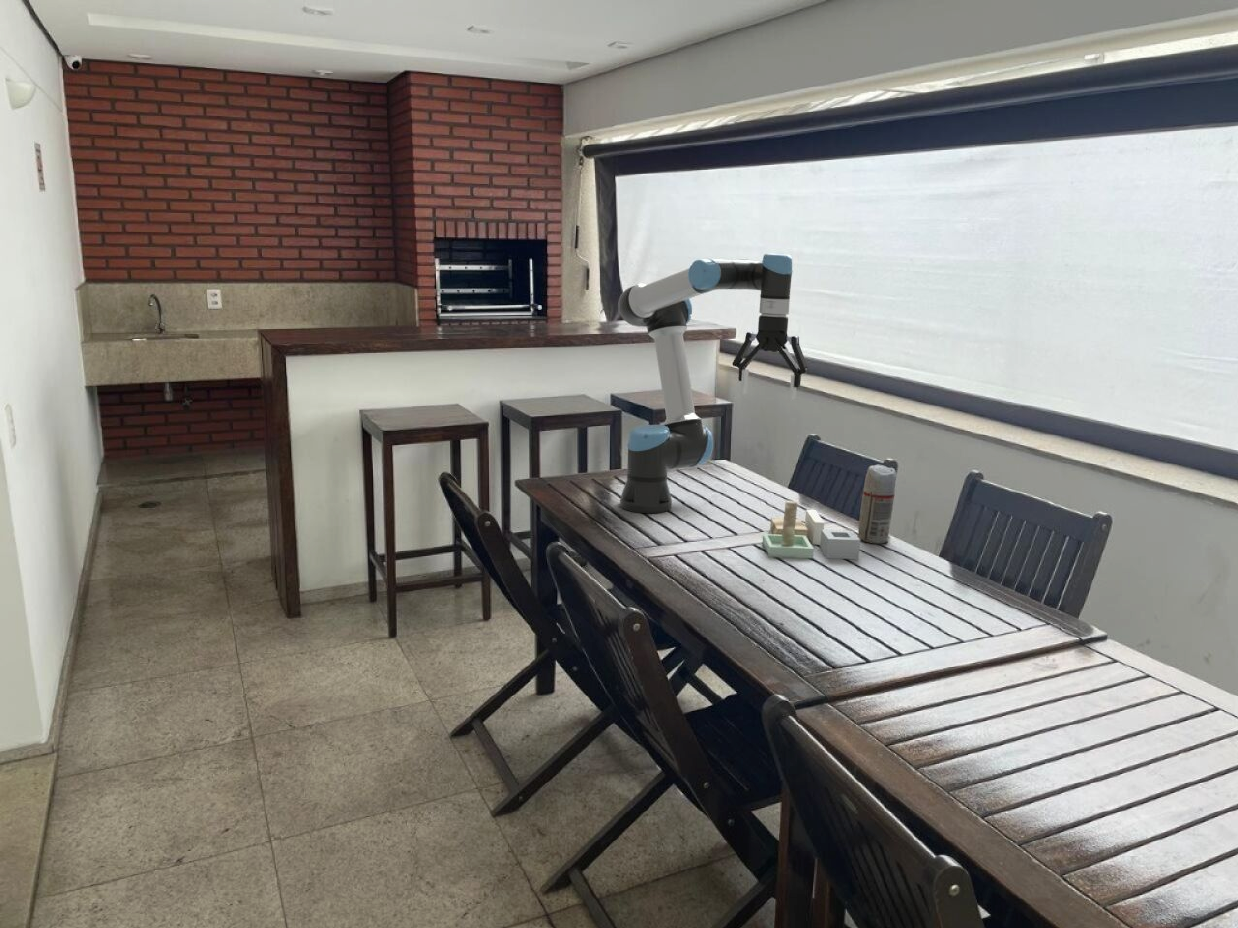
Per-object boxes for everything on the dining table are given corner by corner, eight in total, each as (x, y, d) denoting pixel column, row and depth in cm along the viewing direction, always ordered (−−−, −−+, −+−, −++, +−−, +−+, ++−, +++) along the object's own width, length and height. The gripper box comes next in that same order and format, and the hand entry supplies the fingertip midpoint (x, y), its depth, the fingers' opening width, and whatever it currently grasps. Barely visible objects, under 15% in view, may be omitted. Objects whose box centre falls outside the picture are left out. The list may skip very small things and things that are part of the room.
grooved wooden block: (769, 532, 262) (770, 518, 262) (799, 533, 263) (800, 518, 262) (776, 543, 253) (777, 528, 252) (806, 544, 253) (807, 529, 252)
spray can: (886, 536, 262) (894, 464, 257) (891, 545, 254) (899, 471, 249) (854, 534, 262) (861, 462, 258) (859, 543, 254) (866, 469, 250)
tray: (762, 543, 251) (763, 533, 251) (804, 544, 251) (805, 535, 251) (768, 556, 241) (769, 547, 240) (812, 558, 241) (813, 548, 240)
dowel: (779, 548, 245) (783, 502, 243) (783, 545, 248) (787, 500, 245) (790, 550, 244) (795, 504, 241) (794, 547, 246) (799, 502, 244)
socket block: (820, 548, 249) (821, 529, 248) (851, 549, 249) (852, 530, 248) (826, 558, 241) (828, 538, 240) (858, 559, 241) (860, 540, 240)
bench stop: (804, 530, 264) (806, 509, 262) (813, 531, 264) (815, 509, 262) (812, 544, 252) (814, 522, 251) (822, 544, 252) (824, 522, 251)
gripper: (723, 312, 252) (718, 393, 257) (815, 319, 240) (808, 404, 245) (734, 311, 258) (729, 389, 263) (825, 318, 246) (818, 400, 251)
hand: (767, 396), depth 254 cm, fingers open, 13 cm apart
